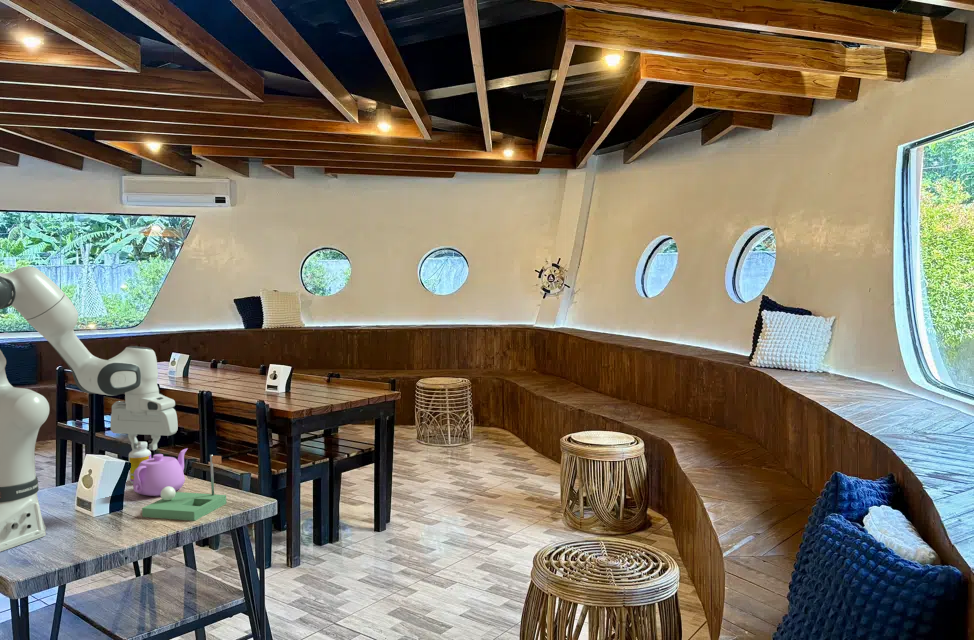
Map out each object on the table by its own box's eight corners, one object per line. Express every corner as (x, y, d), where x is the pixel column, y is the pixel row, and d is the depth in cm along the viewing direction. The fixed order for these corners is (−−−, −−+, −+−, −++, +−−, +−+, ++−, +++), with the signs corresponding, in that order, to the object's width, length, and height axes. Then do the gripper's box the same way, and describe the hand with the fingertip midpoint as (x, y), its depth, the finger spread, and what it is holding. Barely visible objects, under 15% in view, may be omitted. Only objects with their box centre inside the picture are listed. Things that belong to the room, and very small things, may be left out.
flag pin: (222, 496, 214) (220, 455, 213) (211, 495, 215) (209, 455, 214) (223, 495, 215) (221, 455, 214) (212, 494, 215) (210, 454, 215)
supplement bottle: (153, 482, 238) (151, 443, 237) (130, 486, 234) (128, 446, 233) (151, 477, 243) (149, 439, 242) (129, 481, 240) (127, 442, 239)
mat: (194, 520, 200) (194, 511, 200) (142, 516, 204) (142, 508, 204) (226, 503, 215) (226, 495, 215) (177, 500, 219) (176, 491, 219)
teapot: (150, 503, 217) (148, 463, 216) (120, 497, 223) (118, 459, 222) (203, 484, 235) (201, 448, 234) (173, 479, 241) (172, 444, 240)
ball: (169, 502, 208) (169, 489, 208) (157, 502, 209) (157, 488, 209) (178, 498, 212) (178, 485, 212) (166, 497, 213) (166, 484, 213)
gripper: (103, 402, 210) (106, 450, 211) (165, 404, 205) (167, 453, 206) (119, 398, 216) (122, 445, 217) (180, 400, 211) (182, 448, 212)
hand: (144, 449), depth 211 cm, fingers open, 4 cm apart
